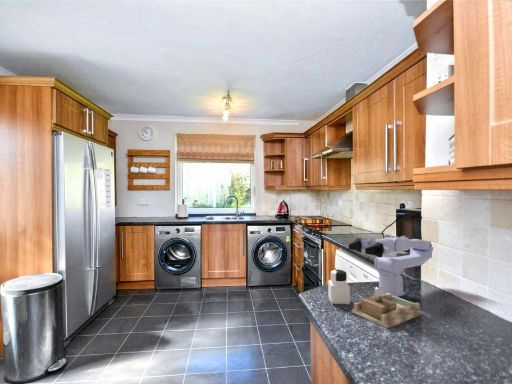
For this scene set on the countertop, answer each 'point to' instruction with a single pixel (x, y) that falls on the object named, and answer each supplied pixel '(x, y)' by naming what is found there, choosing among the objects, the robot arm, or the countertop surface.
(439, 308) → the countertop surface
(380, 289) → the block with knob
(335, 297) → the medicine bottle
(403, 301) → the bay
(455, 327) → the countertop surface
